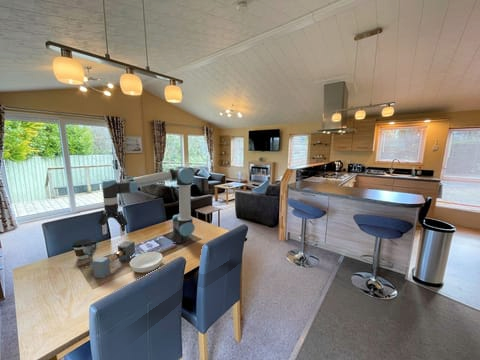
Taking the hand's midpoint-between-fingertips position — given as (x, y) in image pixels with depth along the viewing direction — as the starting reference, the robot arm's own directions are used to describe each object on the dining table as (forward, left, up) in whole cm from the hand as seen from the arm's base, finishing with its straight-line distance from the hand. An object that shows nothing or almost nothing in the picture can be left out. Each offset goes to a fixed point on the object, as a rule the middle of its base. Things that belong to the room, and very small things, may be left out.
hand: (113, 234), depth 128 cm
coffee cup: (+31, -3, -22) cm, 38 cm away
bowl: (-22, -1, -22) cm, 31 cm away
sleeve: (0, -9, -22) cm, 24 cm away
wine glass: (+17, +3, -22) cm, 28 cm away
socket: (0, +11, -22) cm, 24 cm away
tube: (0, -3, -17) cm, 18 cm away
